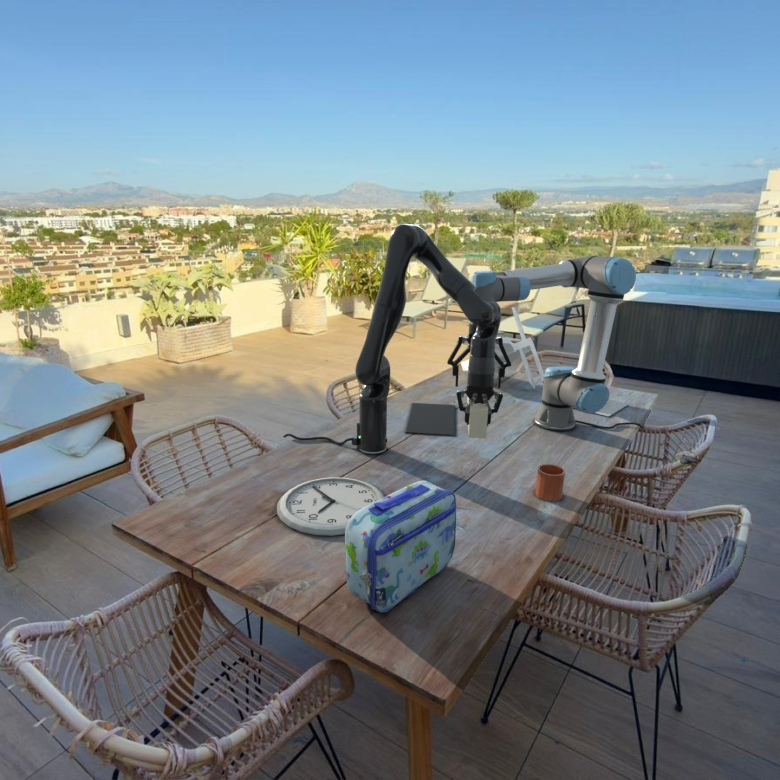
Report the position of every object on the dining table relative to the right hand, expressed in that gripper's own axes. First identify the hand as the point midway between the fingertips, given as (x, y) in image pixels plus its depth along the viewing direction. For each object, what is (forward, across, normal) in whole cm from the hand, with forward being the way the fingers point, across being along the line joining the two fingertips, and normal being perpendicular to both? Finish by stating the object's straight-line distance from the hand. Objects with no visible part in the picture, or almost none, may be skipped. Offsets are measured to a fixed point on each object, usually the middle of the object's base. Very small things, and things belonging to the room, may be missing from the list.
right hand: (477, 386), depth 170 cm
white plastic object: (+24, -15, -87) cm, 91 cm away
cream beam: (+10, 0, +8) cm, 13 cm away
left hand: (+7, 0, +17) cm, 18 cm away
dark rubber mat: (+24, +16, -31) cm, 42 cm away
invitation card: (+25, -56, -58) cm, 84 cm away
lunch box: (+23, +18, +71) cm, 77 cm away
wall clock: (+23, +40, +41) cm, 62 cm away
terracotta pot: (+24, -20, +26) cm, 41 cm away
